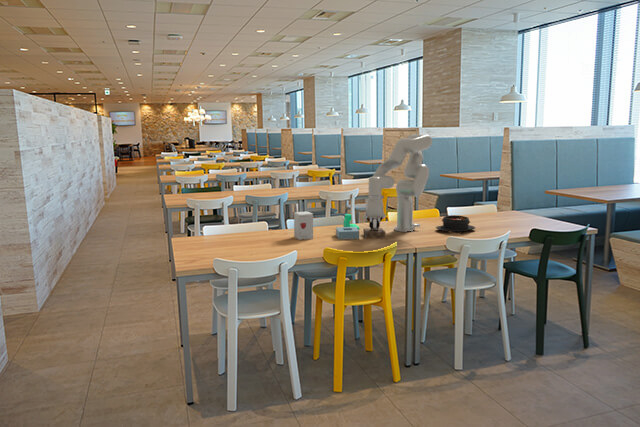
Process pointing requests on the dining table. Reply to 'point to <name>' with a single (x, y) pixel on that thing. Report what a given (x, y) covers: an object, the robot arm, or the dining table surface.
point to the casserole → (455, 224)
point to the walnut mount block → (374, 233)
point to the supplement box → (303, 225)
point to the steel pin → (374, 223)
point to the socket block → (347, 232)
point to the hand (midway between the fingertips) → (374, 228)
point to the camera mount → (347, 223)
